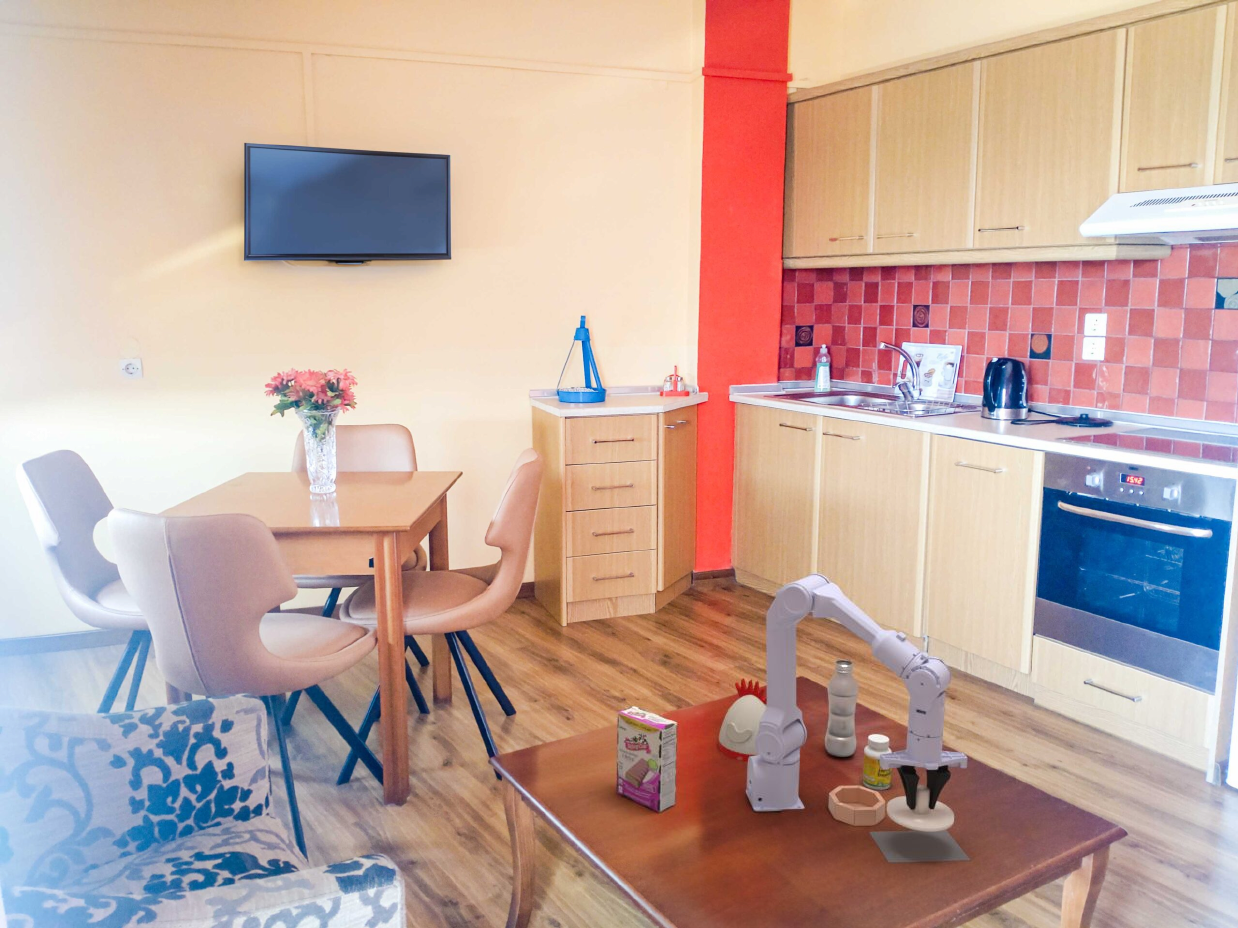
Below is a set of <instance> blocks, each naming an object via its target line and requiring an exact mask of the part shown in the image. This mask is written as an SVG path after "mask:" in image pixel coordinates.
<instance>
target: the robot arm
mask: <svg viewBox="0 0 1238 928" xmlns="http://www.w3.org/2000/svg"><path fill="white" fill-rule="evenodd" d="M811 612H812V616H811V617H812V618H815V619H816V618H818V619H821V618H823V619H825V618H826V619H830V618H831V619H834V620H835V621H837V622H838V623H839V624H841V625H842V626H844V627H845V628H847V629H848V630H849V631H851V632H852V633H853V634H855V635H857V636H858V637H859V638H860V639H861V640H863V641H864V642H866V643H867V644H869V645H870V646H871V647H870V648H871V651H872V655H873V657H874V658H875V659H877V660H878V661H879V662H880V663H881V664H883V666H885V667H886V668H888V670H890V671H891V672H892V673H893V674H895V675H896V676H897V677H899V678H900V679H901V680H902V681H904V684H905V685H904V686H905V688H906V691H907V692H908V693H909V703H908V717H907V718H908V720H907V735H906V749H904V750H898V751H893V752H892V753H887V754H880V766H881V767H882V768H883V769H889V768H891V769H893V768H894V769H895V768H896V770H897V773H898V775H899V777H900V780H901V783H902V787H903V790H904V796H906V803H907V806H908V807H909V808H910V809H911V810H915V806H916V791H917V786H918V785H919V781H920V778H921V777H920V776H919V775H918V774H917V769H916V768H925V771H926V787H928V788H929V789H930V800H929V808H930V809H934V808H935V805H936V802H937V801H938V799H939V797H940V794H941V792H942V790H943V789H944V787H945V786H946V785H947V782H949V780H951V776H952V773H951V771H950V770H949V767H955V768H956V767H959V768H961V769H967V767H968V757H967V756H966V754H964V753H963V752H953V751H946V750H943V740H944V739H943V738H944V725H945V723H944V722H945V711H946V705H945V703H946V691H945V690H946V689H947V688H948V687H949V686H950V684H951V681H952V672H951V669H950V668H949V666H948V665H947V664H946V663H945V662H944V661H943V659H941V658H939V657H935V656H930V655H929V654H928V653H927V652H926V651H924V652H922V651H921V650H920V649H919V648H917V647H916V646H915V645H914V644H912V643H911V642H910V641H909V640H907V639H906V638H907V635H906V634H905V633H903V631H900V632H897V631H896V630H895V629H892V630H891V629H890V630H885V629H883V628H882V627H881V626H879V625H878V624H877V623H876V622H875V621H874V620H873V619H872V618H871V617H869V615H868V614H866V613H865V612H864V611H863V610H862V609H861V608H860V607H858V606H857V605H856V604H855V603H854V602H853V601H852V600H850V599H849V598H848V597H847V596H846V595H845V594H844V593H843V591H842V590H841V588H840V587H839V586H838V584H836V583H834V582H831V581H830V580H829V579H828V577H826V576H825V575H824V574H821V573H811V574H809V575H807V576H805V577H803V578H801V579H798V580H796V581H792V582H789V583H787V584H785V585H783V586H782V587H781V588H779V589H777V590H776V592H775V598H774V600H773V601H772V603H771V604H770V607H769V608H768V610H767V612H766V617H765V620H766V621H765V622H766V633H765V635H766V636H765V638H766V639H765V640H766V698H767V707H766V709H765V711H764V713H763V715H762V717H761V719H760V721H759V731H758V733H757V735H756V737H755V747H756V750H757V752H758V754H759V755H756V756H751V757H749V759H748V762H747V772H746V773H747V775H746V790H745V794H746V795H747V798H748V800H749V803H750V805H751V807H752V809H753V811H754V812H782V811H783V810H801V809H802V810H803V809H805V806H804V804H803V802H802V801H801V798H800V797H799V786H800V785H799V784H800V765H801V764H800V762H801V761H800V760H801V759H800V758H801V747H802V746H803V745H804V744H805V743H806V741H807V737H808V730H807V728H806V725H805V723H804V721H803V711H802V710H801V709H800V708H799V707H798V706H797V624H798V623H799V622H801V620H803V619H804V618H805V617H806V616H808V615H809V614H810V613H811Z"/></svg>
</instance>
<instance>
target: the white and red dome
mask: <svg viewBox="0 0 1238 928" xmlns="http://www.w3.org/2000/svg"><path fill="white" fill-rule="evenodd" d="M734 685H735V688H736V689H735V690H736V691H737V694H738V696H739V698H738V699H737V700H735V701H734V702H733V704H731V706H730V707H729V708H728V709H727V712H726V714H725V716H724V719H723V721H722V724H721V728H720V730H719V734H718V749H719V750H720V752H721V753H722V754H724V755H725V756H727V757H728V758H731V759H734V760H737V761H742V762H747V763H748V759H749V757H751V756H756V755H759V754H758V752H757V750H756V747H755V737H756V735H757V733H758V731H759V721H760V719H761V717H762V715H763V713H764V711H765V709H766V707H767V697H766V698H765V696H764V694H765V692H766V687H763V688H761V690H760V682H759V680H757V681H755V683H754V684H753V679H752V678H751V679H750V680H748V684H746V680H745V678H744V677H743V678H741V680H740V684H739V682H738V681H736V682H735V683H734ZM753 685H754V686H753Z"/></svg>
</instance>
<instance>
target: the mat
mask: <svg viewBox="0 0 1238 928" xmlns="http://www.w3.org/2000/svg"><path fill="white" fill-rule="evenodd" d="M868 834H869V835H870V837H871V838H872V839H873V841H874V843H876V845H877V847H878V848H879V850H880V852H881V853H882V855H883V856H884V858H885V859H886V861H887V862H888V864H895V863H897V864H898V863H926V862H927V863H930V862H931V863H932V862H936V863H937V862H962V861H963V862H964V861H968V862H969V861H971V859H970V858H969V856H968V855H967V853H966V852H965V851H964V850H963V849H962V847H961V846H960V845H959V844H958V843H957V841H956V840H955V839H954V838H953V837H952V835H951V834H950V833H949V832H948V829H945V830H942V831H934V832H927V831H918V830H895V831H893V830H892V831H891V830H890V831H887V830H886V831H869V832H868Z"/></svg>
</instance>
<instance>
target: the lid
mask: <svg viewBox="0 0 1238 928" xmlns="http://www.w3.org/2000/svg"><path fill="white" fill-rule="evenodd" d="M929 800H930V789H929V788H928V787H927V785H924V784H918V786H917V791H916V806H915V810H911V809H910V808H909V807H908V806H907V803H906V796H905V795H904V796H903V795H902V796H897V797H894V798H892V799H890V800H889V801H888V802H887V804H886V814H887V815H888V817H889V819H891V821H893V822H894V823H895V824H898V825H900V826H902V827H904V828H907V829H911V830H913V831H927V832H934V831H942V830H948V829H950V828H951V827H952V826H954V821H955V813H954V811H953V810H952V809H951V808H950V807H949V806H948V805H946V804H944V803H943V802H941V801H938V800H937V802H936V805H935V808H934V809H930V808H929Z"/></svg>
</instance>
